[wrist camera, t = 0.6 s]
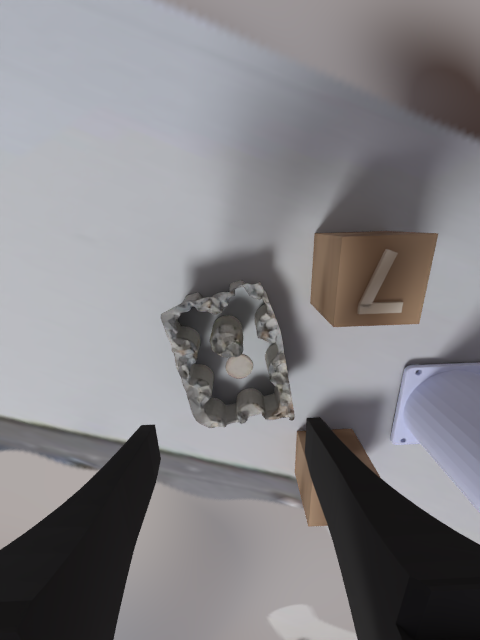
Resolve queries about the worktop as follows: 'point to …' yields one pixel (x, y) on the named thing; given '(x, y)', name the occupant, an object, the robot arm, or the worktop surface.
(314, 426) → the robot arm
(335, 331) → the worktop surface
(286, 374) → the egg carton
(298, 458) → the numbered block one
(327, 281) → the numbered block seven
